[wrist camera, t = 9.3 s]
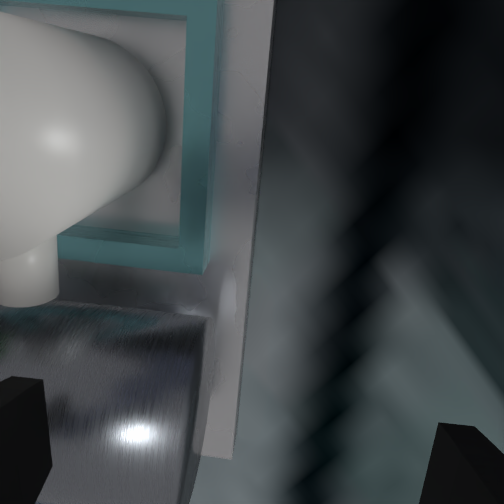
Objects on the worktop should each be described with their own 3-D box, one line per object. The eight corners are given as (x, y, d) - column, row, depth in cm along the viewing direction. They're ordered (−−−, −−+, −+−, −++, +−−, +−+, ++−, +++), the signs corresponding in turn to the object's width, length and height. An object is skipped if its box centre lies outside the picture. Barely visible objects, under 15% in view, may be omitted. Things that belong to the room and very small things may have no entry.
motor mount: (281, -46, 14) (264, -184, 7) (236, 433, 20) (203, 619, 13) (-96, -75, 15) (-461, -227, 8) (-29, 397, 21) (-196, 556, 14)
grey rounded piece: (169, 43, 14) (75, 11, 8) (161, 255, 16) (84, 346, 10) (7, 26, 14) (-194, -17, 8) (22, 236, 16) (-127, 315, 11)
